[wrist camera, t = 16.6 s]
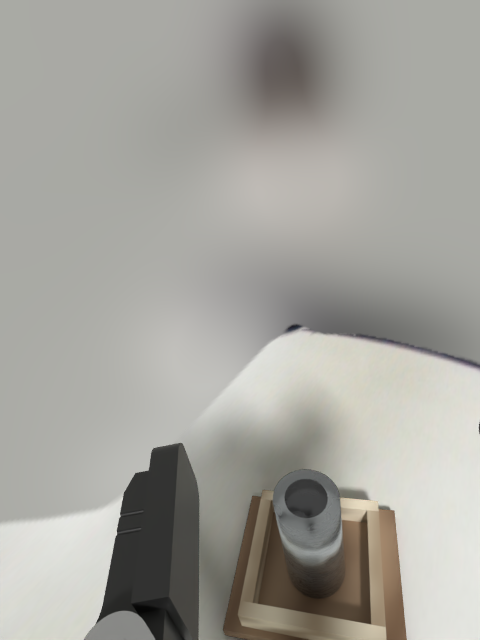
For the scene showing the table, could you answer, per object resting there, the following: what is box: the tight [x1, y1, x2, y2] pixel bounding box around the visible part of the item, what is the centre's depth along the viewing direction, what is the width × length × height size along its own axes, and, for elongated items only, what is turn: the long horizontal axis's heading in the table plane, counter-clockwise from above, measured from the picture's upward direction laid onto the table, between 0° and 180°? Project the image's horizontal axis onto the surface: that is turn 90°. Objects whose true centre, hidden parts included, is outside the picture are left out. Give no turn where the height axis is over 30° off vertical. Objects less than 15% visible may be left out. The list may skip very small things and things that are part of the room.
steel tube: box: [273, 469, 345, 599], centre depth 32 cm, size 5×5×10 cm
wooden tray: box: [223, 490, 407, 640], centre depth 35 cm, size 14×12×3 cm
